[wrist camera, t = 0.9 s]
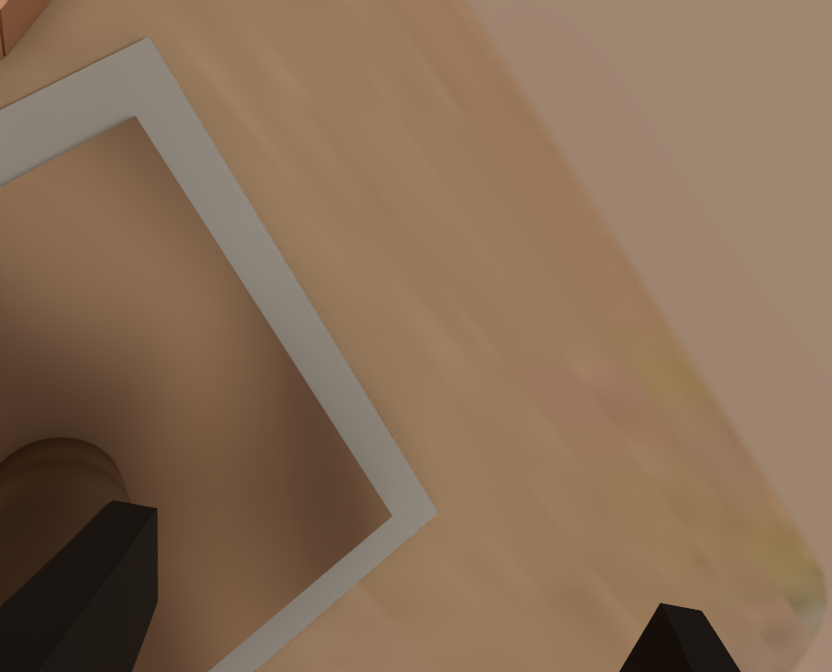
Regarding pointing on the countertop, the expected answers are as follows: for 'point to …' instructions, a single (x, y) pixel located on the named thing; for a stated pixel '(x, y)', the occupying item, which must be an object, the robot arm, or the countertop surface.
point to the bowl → (17, 20)
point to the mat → (261, 275)
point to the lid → (159, 404)
